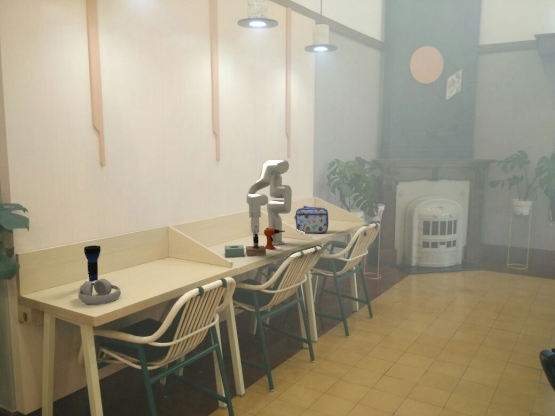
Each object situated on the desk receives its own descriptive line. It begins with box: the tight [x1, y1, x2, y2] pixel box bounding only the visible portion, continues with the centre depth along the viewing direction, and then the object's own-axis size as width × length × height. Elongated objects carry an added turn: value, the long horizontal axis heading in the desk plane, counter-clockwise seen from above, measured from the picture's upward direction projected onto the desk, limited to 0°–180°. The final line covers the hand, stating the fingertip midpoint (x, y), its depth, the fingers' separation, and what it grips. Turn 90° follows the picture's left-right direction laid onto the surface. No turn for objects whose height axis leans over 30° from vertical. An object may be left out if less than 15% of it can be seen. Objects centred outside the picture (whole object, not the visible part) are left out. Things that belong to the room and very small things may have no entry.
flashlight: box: [83, 245, 102, 286], centre depth 256 cm, size 8×8×20 cm
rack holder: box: [224, 244, 245, 258], centre depth 324 cm, size 12×12×5 cm
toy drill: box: [263, 227, 286, 251], centre depth 338 cm, size 5×19×15 cm, turn 49°
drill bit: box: [252, 233, 259, 248], centre depth 326 cm, size 3×3×10 cm
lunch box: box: [293, 205, 329, 234], centre depth 400 cm, size 28×10×22 cm, turn 82°
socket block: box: [245, 245, 267, 257], centre depth 326 cm, size 12×12×4 cm
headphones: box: [78, 278, 122, 306], centre depth 233 cm, size 18×8×20 cm
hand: (255, 242), depth 326 cm, fingers closed on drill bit, 3 cm apart
